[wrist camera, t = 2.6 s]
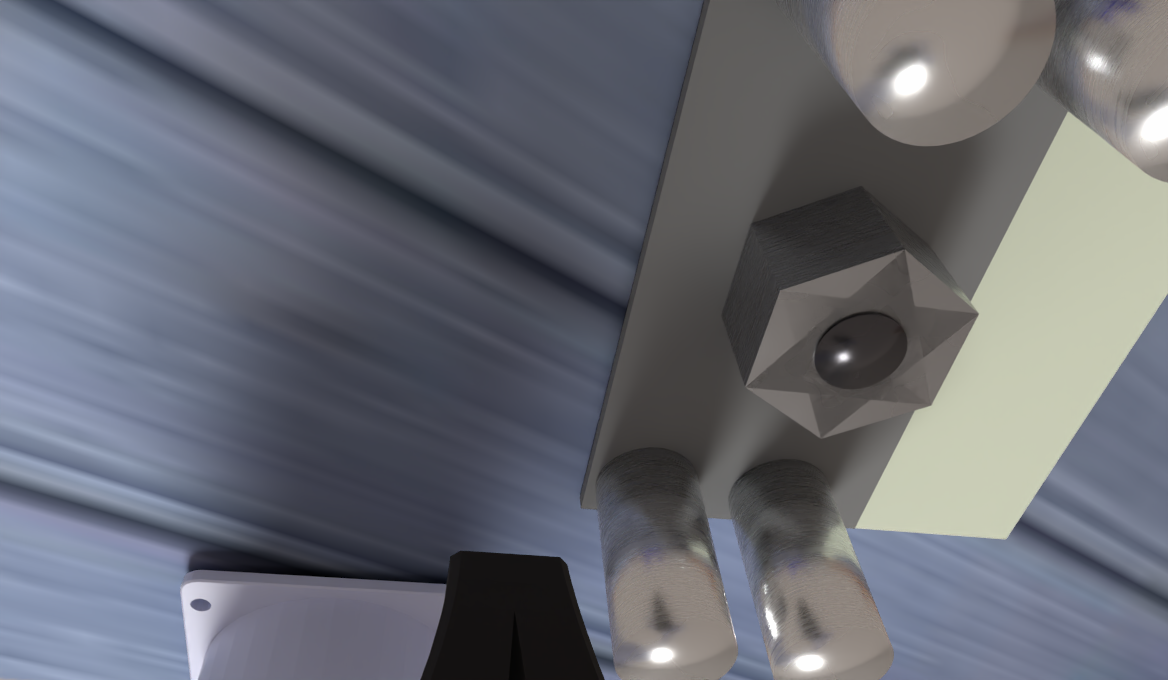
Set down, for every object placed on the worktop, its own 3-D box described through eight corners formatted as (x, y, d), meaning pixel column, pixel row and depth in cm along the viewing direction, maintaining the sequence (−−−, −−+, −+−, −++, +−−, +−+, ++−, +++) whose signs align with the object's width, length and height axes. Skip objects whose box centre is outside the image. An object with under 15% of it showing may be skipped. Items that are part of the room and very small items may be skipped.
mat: (1000, 528, 26) (1006, 539, 25) (580, 496, 24) (581, 508, 24) (1353, -18, 17) (1368, -12, 17) (738, -138, 15) (743, -133, 15)
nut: (940, 318, 21) (989, 390, 19) (742, 380, 21) (767, 457, 19) (918, 166, 18) (970, 229, 16) (696, 241, 19) (720, 312, 17)
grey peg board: (844, 535, 25) (908, 703, 21) (586, 517, 24) (603, 691, 20) (1151, -75, 16) (1370, 15, 12) (761, -153, 15) (857, -81, 11)
